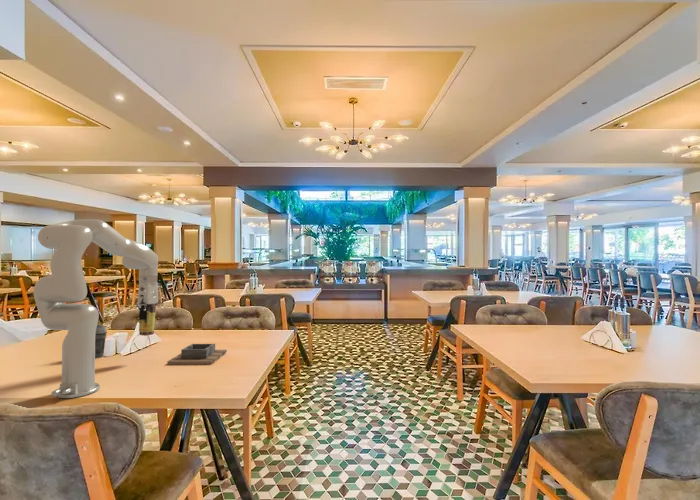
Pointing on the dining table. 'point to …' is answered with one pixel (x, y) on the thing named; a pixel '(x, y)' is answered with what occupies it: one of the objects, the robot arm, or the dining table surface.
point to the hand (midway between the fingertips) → (147, 318)
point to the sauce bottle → (148, 321)
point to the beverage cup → (100, 341)
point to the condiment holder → (197, 355)
